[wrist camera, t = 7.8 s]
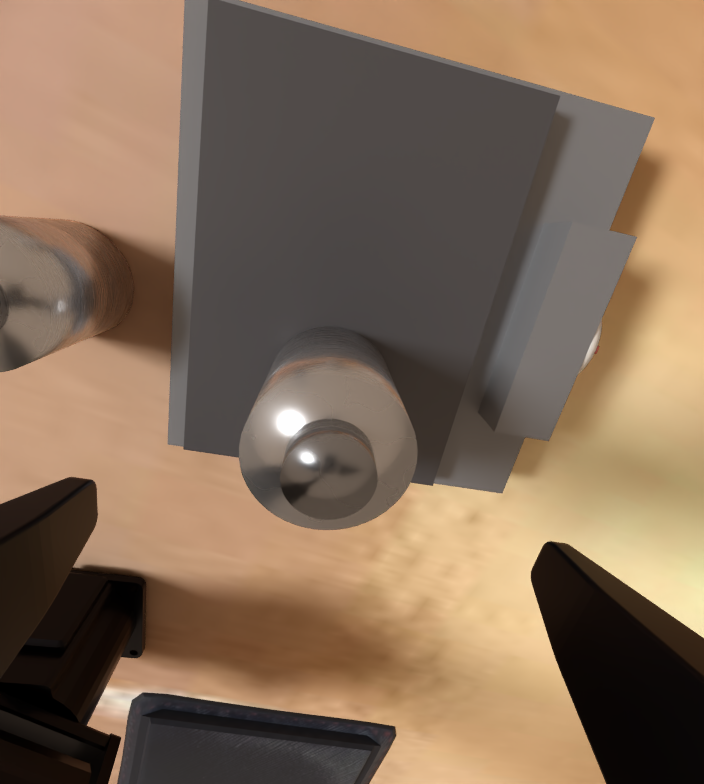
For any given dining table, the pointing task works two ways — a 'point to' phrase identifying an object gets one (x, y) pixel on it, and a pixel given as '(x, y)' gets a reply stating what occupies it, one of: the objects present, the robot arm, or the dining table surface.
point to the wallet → (245, 745)
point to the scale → (389, 231)
